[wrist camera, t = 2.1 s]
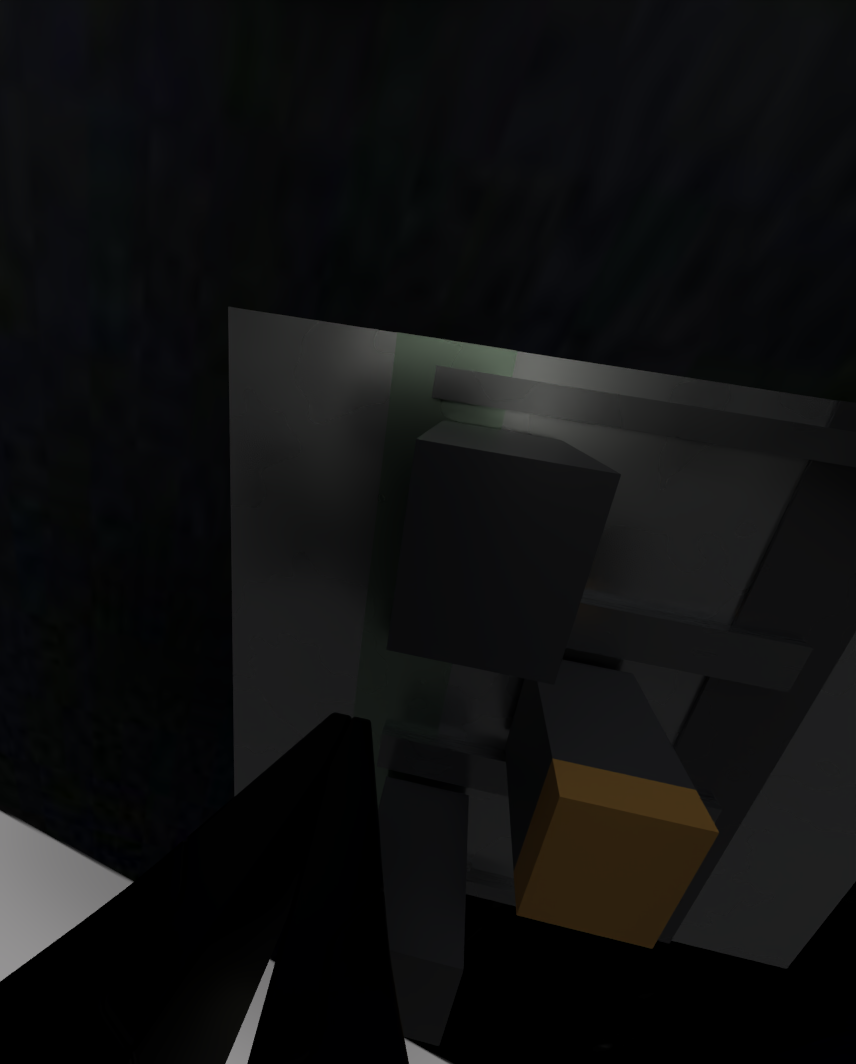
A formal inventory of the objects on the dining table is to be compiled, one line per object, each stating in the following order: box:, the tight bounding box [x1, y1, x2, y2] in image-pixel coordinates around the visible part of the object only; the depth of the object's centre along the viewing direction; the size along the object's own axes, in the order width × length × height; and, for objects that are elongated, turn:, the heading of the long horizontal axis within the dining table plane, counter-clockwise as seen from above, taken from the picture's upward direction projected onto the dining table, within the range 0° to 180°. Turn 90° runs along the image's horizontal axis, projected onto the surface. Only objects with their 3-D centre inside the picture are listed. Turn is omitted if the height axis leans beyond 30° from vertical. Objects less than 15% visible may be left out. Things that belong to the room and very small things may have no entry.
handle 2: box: [386, 420, 621, 685], centre depth 7 cm, size 2×3×4 cm
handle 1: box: [378, 776, 469, 1046], centre depth 10 cm, size 2×3×4 cm
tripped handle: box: [505, 659, 719, 949], centre depth 8 cm, size 2×3×4 cm
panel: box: [228, 307, 856, 969], centre depth 11 cm, size 18×16×1 cm
